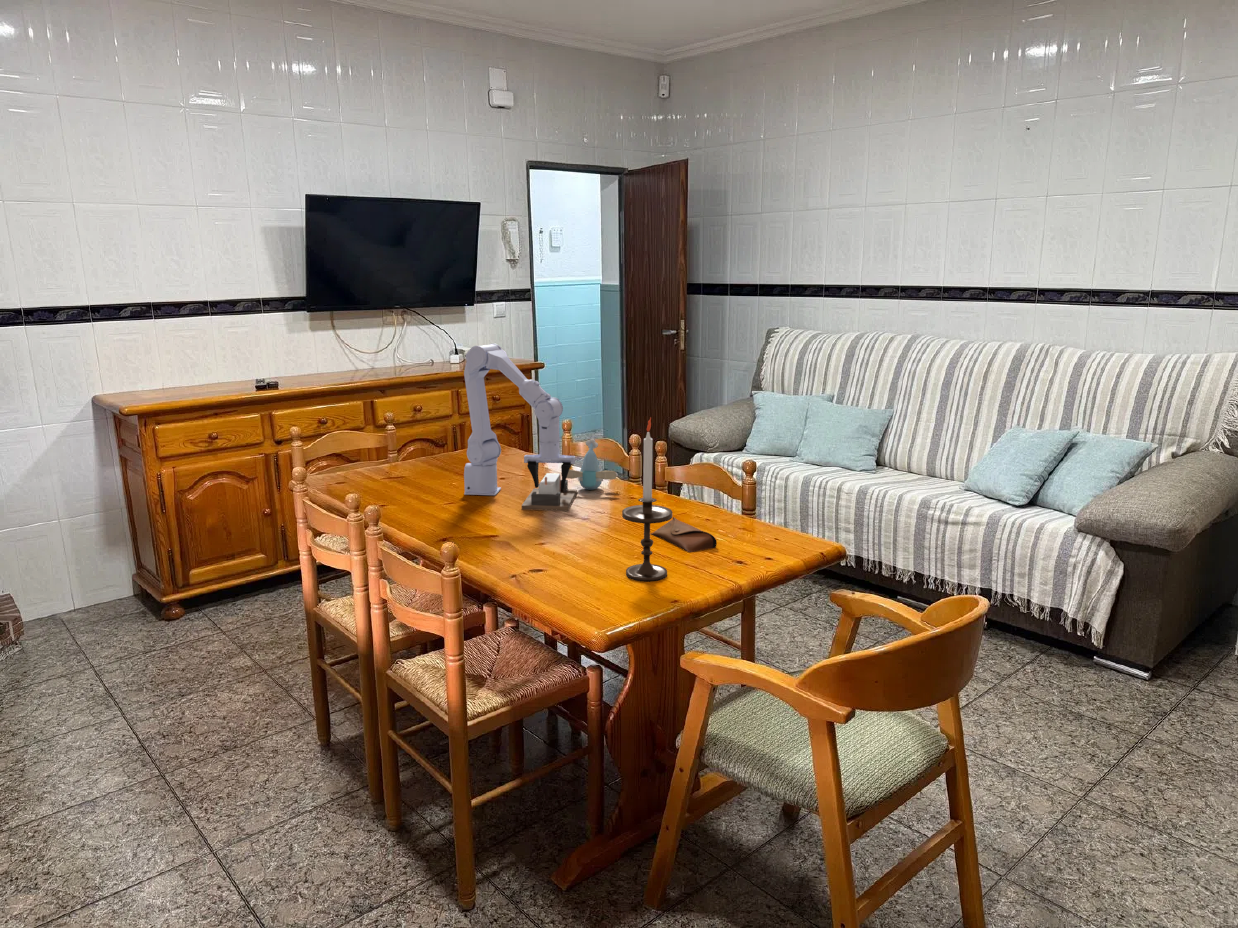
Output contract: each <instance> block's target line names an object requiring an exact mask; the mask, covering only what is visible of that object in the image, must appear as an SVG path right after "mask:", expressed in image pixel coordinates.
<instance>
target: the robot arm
mask: <svg viewBox="0 0 1238 928" xmlns="http://www.w3.org/2000/svg"><path fill="white" fill-rule="evenodd" d="M465 360H466V362H465V366H464V371H463V375H464V381H465V382H464V383H465V390H466V397H467V404H468V411H469V418H470V424H471V430H472V432H471V434H470V436H469V438H468V439H467V449H466V456H467V459H468V461H469V462H466V463H465V466H464V469H463V470H464V472H463V479H464V480H463V481H464V493H463V494H464V495H465V496H467V495H469V496H470V495H471V496H475V495H476V496H477V495H478V496H496V495H497V494H498V493H499V492H500V491H501V490H502V487H500V486H498V474H497V473H498V466H497V464H498V463H497V462H498V458H499V457H500V456H501V453H502V447H501V444H500V443H499V441H498V437H497V434H496V433H495V432H494V431H493V430H492V428H491V421H490V414H489V412H490V411H489V406H488V399H487V392H486V384H485V376H486V375H487V374H488V373H489V371H490V370H497V371H500V373H502V375H504V376H505V377H506V378H507V379H509V380H510V381H511V382H512V383H513V384H514V385H516V387H518V393H519V395H520V396H521V397H522V398H523V399H524V400H525V401H526V402H527V404H529V406H531V407H532V408H533V410H534V414H535V417H536V418H537V420H538V436H539V437H538V439H539V440H538V441H539V442H538V444H539V445H538V446H539V454H525V455H524V456H523V463H525V464H527V469H528V470H529V473H530V475H531V477H532V480H533V483H534V488H537V489H539V487H538V485H539V483H540V482H539V481H540V480H539V466H540V465H539V463H541V464H561V466H560V469H561V470H560V471H561V472H562V476H561V480H562V484H561V487H562V489H564V488H565V483H566V480H567V479H568V478H567V475H568V472H569V470H571V467H572V465H575V464H576V456H575V455H567V454H561V452H560V416H561V415H562V414H563V411H564V407H563V404H562V402H561V401H560V399H559V398H558V397H554V396H553V397H552V395H551V394H550V393H548V392H547V391H545V390H544V389H543V388H542V386H541V385H540V384H541V383H540V382H539V381H538V380H534V379H528V378H527V377H526V376H525V374H523V372H522V371H521V370H520V369H519V368H518V366H517V365H516V364H515V363H514V362H513V361H512V360H511V359H510V357H509V356H508V353H507V351H505V350H504V349H503V348H502V347H501V346H500V344H497V343H489V344H484V345H482V344H481V345H474V346H472V347H470V349H469V350H468V351H467V352H466V354H465ZM561 472H560V473H561Z"/></svg>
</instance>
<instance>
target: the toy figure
mask: <svg viewBox="0 0 1238 928" xmlns="http://www.w3.org/2000/svg"><path fill="white" fill-rule="evenodd" d="M585 445H586V446H587V447H588V451H587V452H586V453H585V454H584V457H583V461H582V465H581V468H580V470H575V469H569V472H568V475H567V478H566V479H568V480H570V479H577V481H578V482H579V484H580V486H581V487H582V488H584V489H585V490H588V491H591V490H592V491H593V490H596V489H598V488H599V487H600V486H601V484H602V482H604V480H608V481H609V480H611V481H612V480H616V479H617V477H619V475H618V473H617V472H616V471H614V470H602V471H601V469H600V467H599V466H600V461H599V460H598V458H597V455H596V453H595V451H594V449H596V448H598V446H599V443H598V442H596V440H595V439H594V438H590V439H588V440H585ZM560 475H561V477H562V472H560Z"/></svg>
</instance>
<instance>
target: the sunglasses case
mask: <svg viewBox="0 0 1238 928" xmlns="http://www.w3.org/2000/svg"><path fill="white" fill-rule="evenodd" d="M650 536H654V537H656V538H659V539H662V540H663V539H664V540H663V541H666V542H668V543H669V544H672V545H674V546H676V547H678V548H679V549H682V550H683V549H684V550H683V551H685V552H686V553H695V552H701V551H705V549H706V550H711V549H716V548H717V546H718V545H717V544H718V542H717V539H716V537H714V535H713V534H711V533H709V532H707V531H703V530H701V529H699V528H697V527H695V526H693V525H691V524H688V523H687V522H686V523H685V522H683V521H681V520H679V519H677V518H676V517H673V516H672V518H671V519H670V520H668V522H666V523H664V525H662V526H660V527H659V528H658V529H656V530H655V531H654V532H652V533H651V532H650Z"/></svg>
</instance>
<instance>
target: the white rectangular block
mask: <svg viewBox="0 0 1238 928" xmlns="http://www.w3.org/2000/svg"><path fill="white" fill-rule="evenodd" d="M561 480H562V476H561V473H558V472H557V473H554V472H553V473H552V472H551V473H550V472H549V473H548V472H546V474H544V477H543V478H542V479H541V481H540V482H539V485H538V489H539V494H554V495H556V494H557V492H560V490H561Z"/></svg>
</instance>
